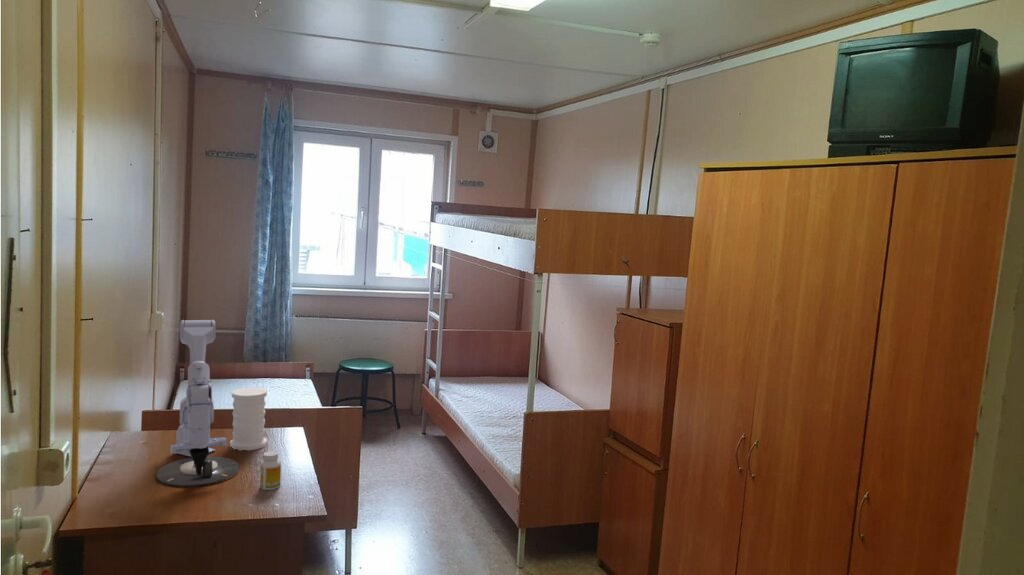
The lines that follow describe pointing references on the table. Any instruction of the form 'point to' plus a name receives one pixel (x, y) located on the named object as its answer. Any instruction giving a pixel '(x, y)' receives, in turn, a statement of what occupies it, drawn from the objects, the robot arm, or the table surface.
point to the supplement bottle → (270, 471)
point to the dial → (206, 470)
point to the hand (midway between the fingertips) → (198, 473)
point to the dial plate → (174, 477)
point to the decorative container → (248, 419)
